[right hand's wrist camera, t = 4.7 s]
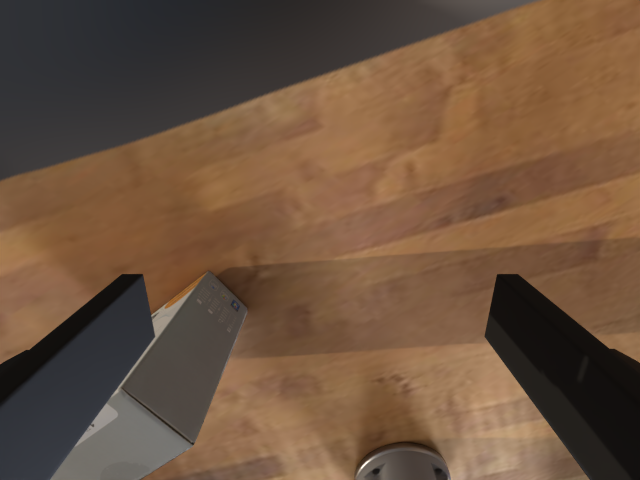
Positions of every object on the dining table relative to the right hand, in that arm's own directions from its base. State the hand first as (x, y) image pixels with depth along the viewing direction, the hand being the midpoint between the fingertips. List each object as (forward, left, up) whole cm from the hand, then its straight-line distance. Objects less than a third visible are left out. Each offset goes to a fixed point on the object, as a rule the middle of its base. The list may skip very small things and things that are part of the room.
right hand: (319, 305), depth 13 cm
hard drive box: (-19, +18, -28) cm, 38 cm away
